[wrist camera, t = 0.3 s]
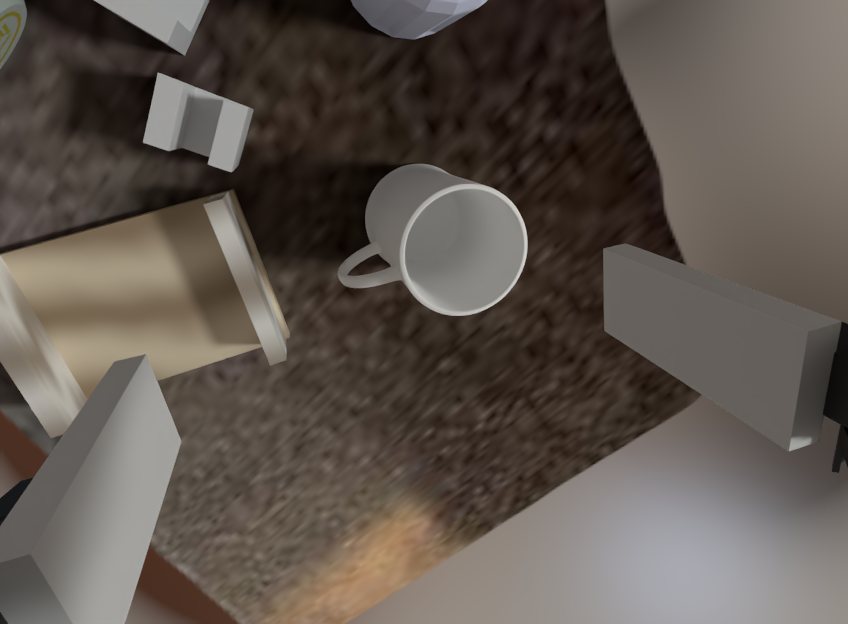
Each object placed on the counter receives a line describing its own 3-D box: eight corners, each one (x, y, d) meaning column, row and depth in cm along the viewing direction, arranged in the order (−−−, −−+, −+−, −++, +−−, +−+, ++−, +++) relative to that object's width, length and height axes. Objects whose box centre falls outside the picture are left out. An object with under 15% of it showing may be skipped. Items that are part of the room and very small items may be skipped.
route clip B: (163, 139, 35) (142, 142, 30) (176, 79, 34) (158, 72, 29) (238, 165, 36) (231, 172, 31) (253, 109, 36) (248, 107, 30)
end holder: (-16, 258, 34) (-62, 278, 30) (233, 188, 37) (226, 197, 32) (73, 402, 39) (46, 439, 35) (289, 332, 42) (290, 358, 37)
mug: (343, 294, 42) (365, 355, 31) (309, 192, 38) (320, 220, 28) (476, 251, 43) (541, 295, 33) (455, 150, 40) (519, 161, 29)
